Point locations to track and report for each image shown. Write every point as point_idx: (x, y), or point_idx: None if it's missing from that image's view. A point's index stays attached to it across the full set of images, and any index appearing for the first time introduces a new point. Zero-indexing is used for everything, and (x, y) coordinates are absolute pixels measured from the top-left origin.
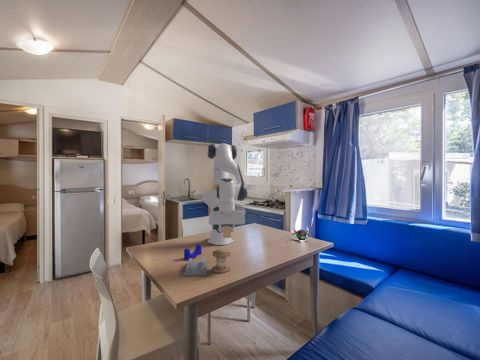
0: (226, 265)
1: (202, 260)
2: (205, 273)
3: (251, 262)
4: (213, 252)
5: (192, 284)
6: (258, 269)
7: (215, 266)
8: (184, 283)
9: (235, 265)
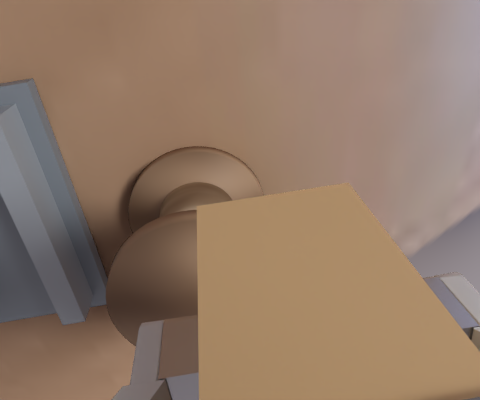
0: (236, 173)
1: (3, 198)
2: (105, 303)
3: (463, 44)
4: (115, 304)
5: (73, 386)
6: (474, 186)
7: (146, 199)
8: (22, 383)
9: (310, 123)
